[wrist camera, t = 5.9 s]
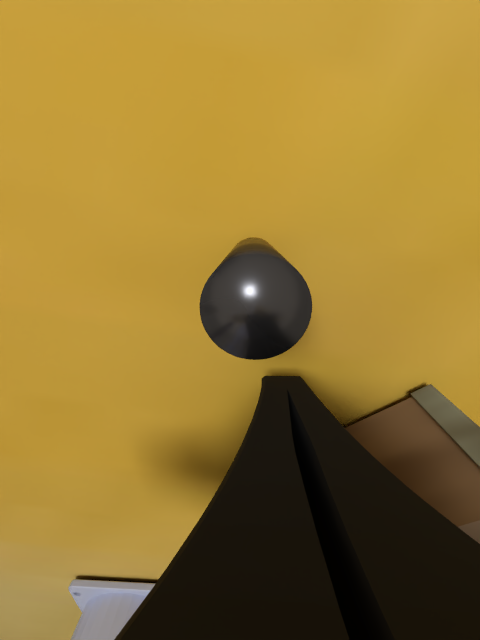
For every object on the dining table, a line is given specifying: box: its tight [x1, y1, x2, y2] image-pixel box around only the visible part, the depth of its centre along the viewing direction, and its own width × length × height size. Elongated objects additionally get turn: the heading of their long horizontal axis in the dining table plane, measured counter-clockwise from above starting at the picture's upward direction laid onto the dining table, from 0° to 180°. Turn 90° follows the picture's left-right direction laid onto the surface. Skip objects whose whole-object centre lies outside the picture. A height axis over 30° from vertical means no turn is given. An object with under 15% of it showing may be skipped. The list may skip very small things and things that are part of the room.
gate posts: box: [200, 238, 312, 360], centre depth 7 cm, size 14×2×6 cm, turn 1°
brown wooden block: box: [345, 384, 480, 544], centre depth 8 cm, size 8×2×4 cm, turn 127°
